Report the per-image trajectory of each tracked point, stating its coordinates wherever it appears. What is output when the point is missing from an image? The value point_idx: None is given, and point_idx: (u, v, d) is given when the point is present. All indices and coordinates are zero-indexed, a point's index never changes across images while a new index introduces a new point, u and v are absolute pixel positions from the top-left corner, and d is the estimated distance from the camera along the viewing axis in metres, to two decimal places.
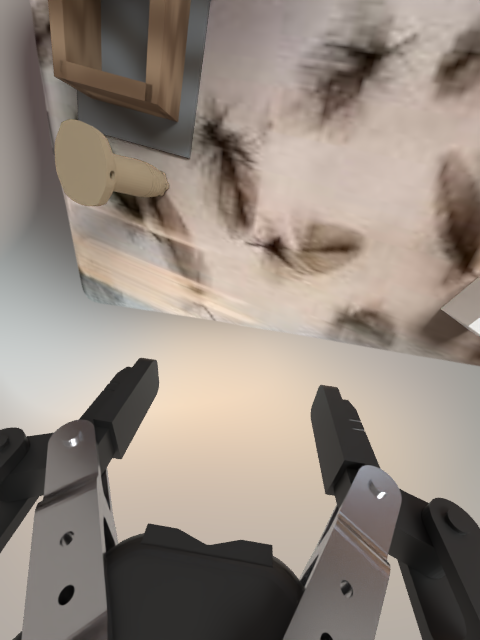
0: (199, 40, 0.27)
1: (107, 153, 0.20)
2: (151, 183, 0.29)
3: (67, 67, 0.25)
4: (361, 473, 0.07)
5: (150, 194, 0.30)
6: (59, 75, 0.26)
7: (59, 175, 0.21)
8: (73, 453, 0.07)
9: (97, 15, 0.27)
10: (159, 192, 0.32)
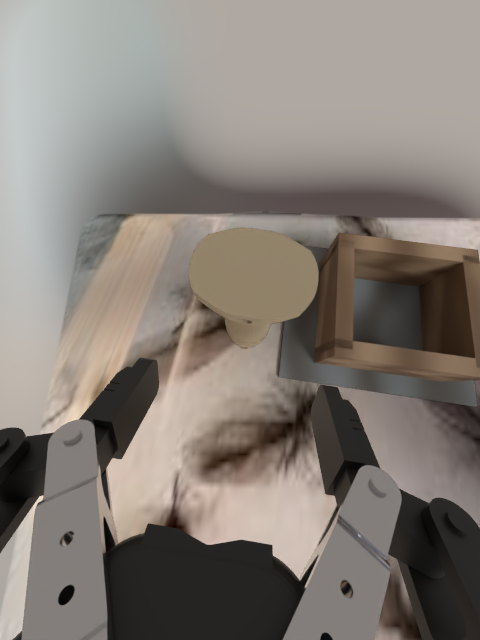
0: (390, 388, 0.24)
1: (277, 319, 0.11)
2: (243, 341, 0.20)
3: (349, 249, 0.22)
4: (361, 473, 0.07)
5: (229, 335, 0.21)
6: (340, 238, 0.22)
7: (234, 230, 0.12)
8: (73, 453, 0.07)
9: (386, 279, 0.27)
10: None
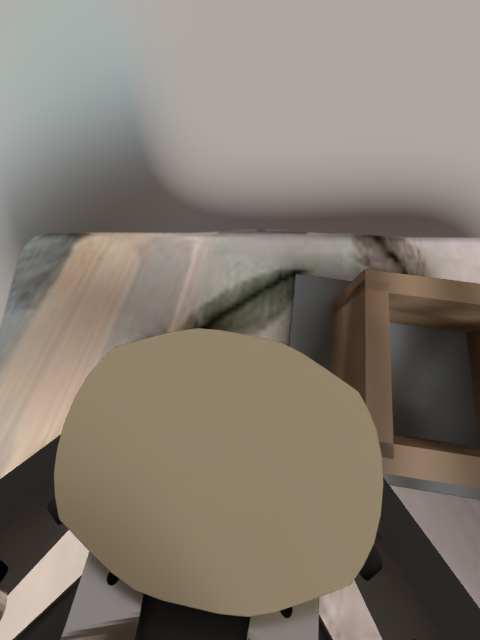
0: (435, 484, 0.17)
1: (277, 592, 0.04)
2: None
3: (381, 294, 0.15)
4: None
5: None
6: (368, 277, 0.16)
7: (179, 337, 0.05)
8: None
9: (423, 324, 0.20)
10: None
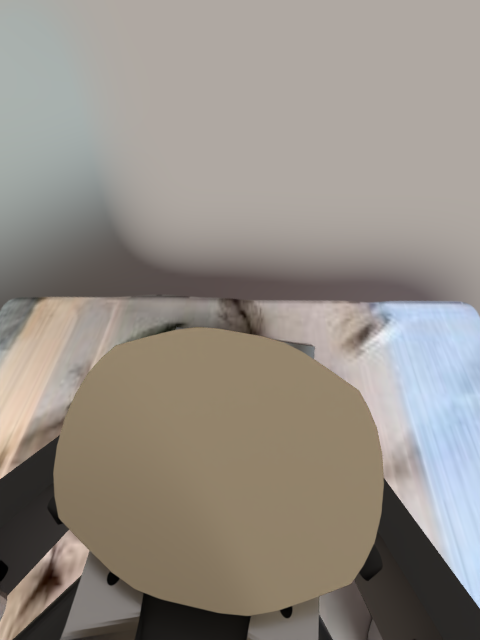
0: None
1: (278, 592, 0.04)
2: None
3: None
4: None
5: None
6: None
7: (179, 335, 0.05)
8: None
9: None
10: None
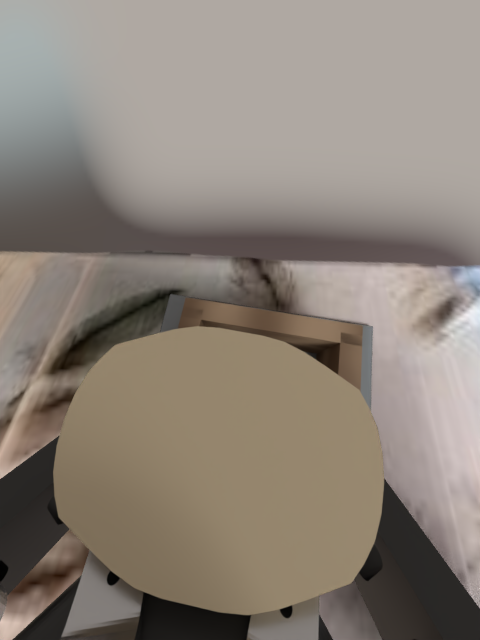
0: None
1: (278, 591, 0.04)
2: None
3: (194, 320, 0.17)
4: None
5: None
6: (186, 305, 0.17)
7: (179, 335, 0.05)
8: None
9: None
10: None
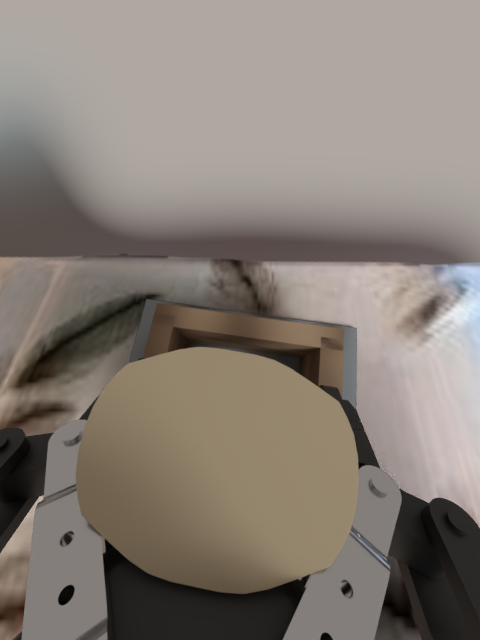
0: None
1: (270, 574, 0.05)
2: None
3: (166, 327, 0.16)
4: (361, 473, 0.07)
5: None
6: (157, 311, 0.16)
7: (182, 354, 0.06)
8: (73, 453, 0.07)
9: (255, 350, 0.21)
10: None
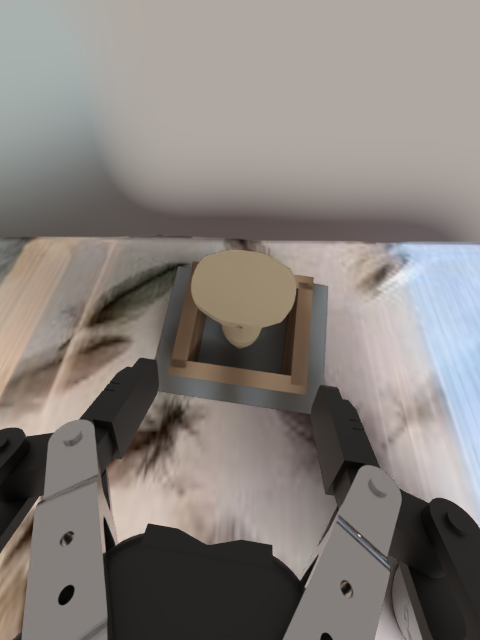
0: (246, 400, 0.27)
1: (263, 325, 0.14)
2: (237, 342, 0.23)
3: None
4: (361, 473, 0.07)
5: (226, 336, 0.24)
6: (193, 266, 0.25)
7: (228, 252, 0.15)
8: (73, 453, 0.07)
9: None
10: None
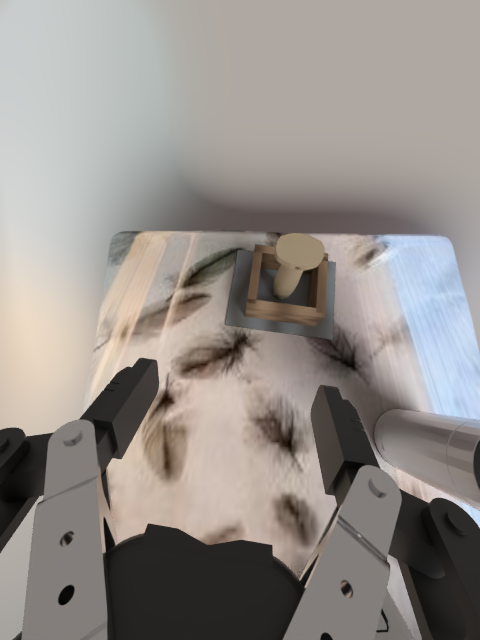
0: (286, 330, 0.43)
1: (309, 266, 0.31)
2: (285, 289, 0.39)
3: (260, 253, 0.42)
4: (361, 473, 0.07)
5: (277, 287, 0.40)
6: (255, 247, 0.42)
7: (291, 234, 0.32)
8: (73, 453, 0.07)
9: None
10: (277, 293, 0.42)
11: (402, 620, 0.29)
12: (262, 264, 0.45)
